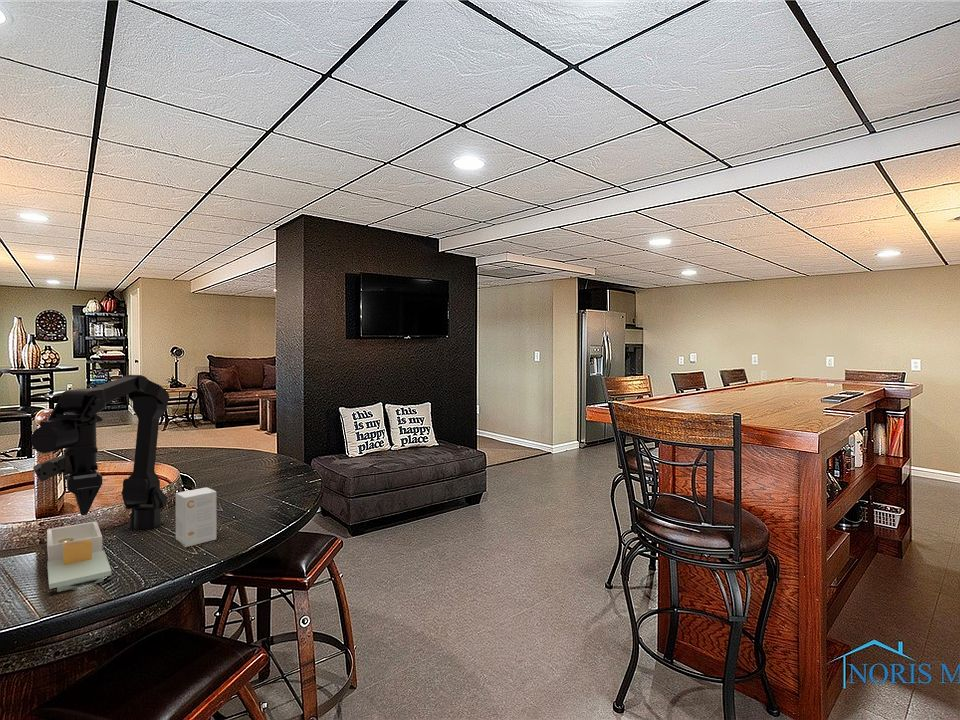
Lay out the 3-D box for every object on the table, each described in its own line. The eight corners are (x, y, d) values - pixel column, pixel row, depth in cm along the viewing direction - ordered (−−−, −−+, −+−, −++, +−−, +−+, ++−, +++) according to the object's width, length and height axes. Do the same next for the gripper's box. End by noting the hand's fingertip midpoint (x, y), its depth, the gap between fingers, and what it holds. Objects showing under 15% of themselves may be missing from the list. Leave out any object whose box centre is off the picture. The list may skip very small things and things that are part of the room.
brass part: (76, 546, 130) (76, 538, 130) (67, 550, 127) (67, 542, 127) (64, 545, 130) (64, 538, 130) (54, 550, 127) (54, 542, 127)
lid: (47, 572, 117) (47, 543, 117) (104, 560, 124) (104, 533, 123) (49, 596, 106) (49, 564, 106) (111, 581, 113) (111, 552, 113)
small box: (207, 533, 142) (207, 486, 142) (217, 539, 138) (217, 491, 138) (174, 541, 136) (174, 492, 136) (183, 548, 132) (184, 497, 132)
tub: (47, 549, 130) (47, 529, 130) (96, 540, 136) (96, 521, 136) (48, 567, 119) (48, 546, 119) (102, 556, 126) (102, 536, 126)
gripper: (34, 441, 123) (35, 506, 123) (36, 455, 109) (38, 529, 109) (93, 436, 130) (94, 497, 131) (102, 448, 116) (103, 517, 117)
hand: (82, 509), depth 122 cm, fingers open, 9 cm apart
